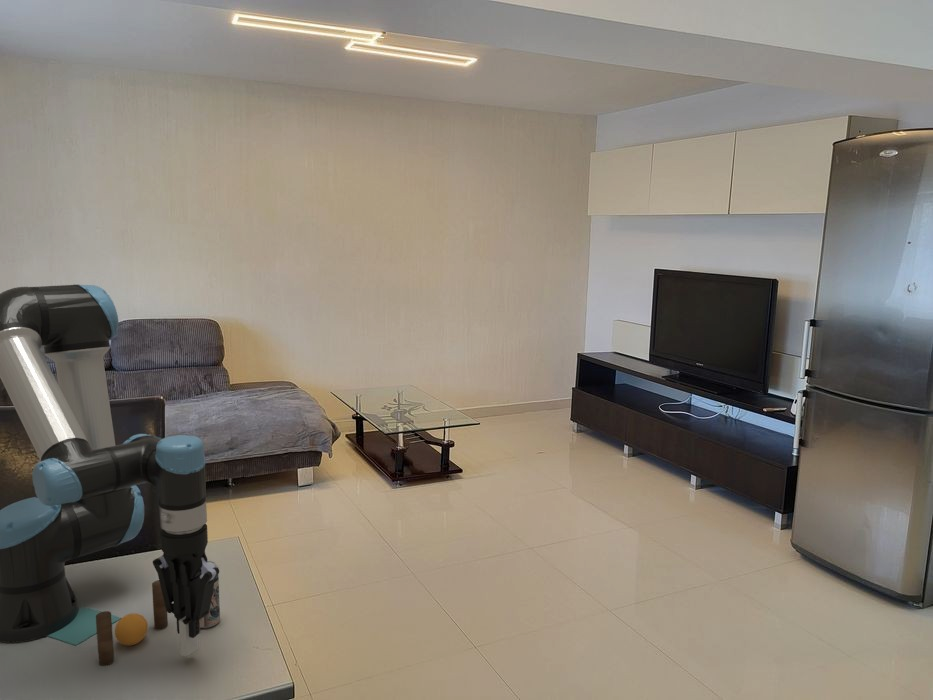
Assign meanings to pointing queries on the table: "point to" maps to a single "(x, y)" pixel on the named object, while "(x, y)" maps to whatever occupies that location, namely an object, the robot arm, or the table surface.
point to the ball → (131, 629)
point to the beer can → (212, 605)
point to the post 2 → (159, 607)
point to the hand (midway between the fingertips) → (189, 651)
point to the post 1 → (104, 638)
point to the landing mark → (80, 627)
